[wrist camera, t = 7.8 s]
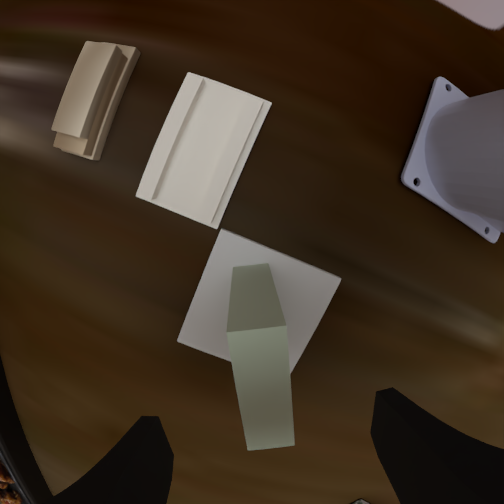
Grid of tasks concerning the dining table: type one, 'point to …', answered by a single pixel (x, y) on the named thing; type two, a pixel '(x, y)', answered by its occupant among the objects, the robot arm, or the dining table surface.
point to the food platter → (17, 457)
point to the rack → (202, 149)
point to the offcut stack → (93, 98)
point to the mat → (287, 286)
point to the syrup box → (360, 502)
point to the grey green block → (260, 358)
